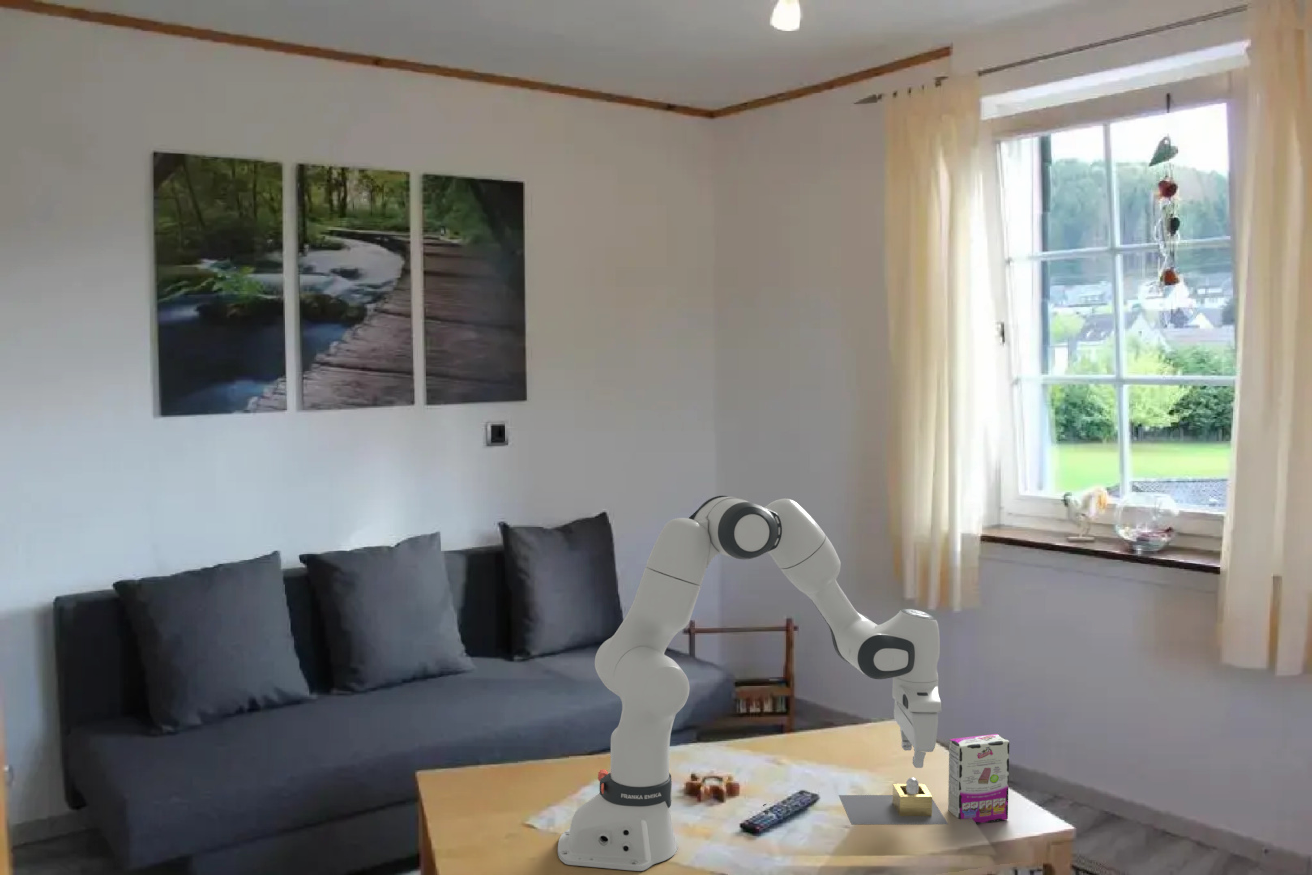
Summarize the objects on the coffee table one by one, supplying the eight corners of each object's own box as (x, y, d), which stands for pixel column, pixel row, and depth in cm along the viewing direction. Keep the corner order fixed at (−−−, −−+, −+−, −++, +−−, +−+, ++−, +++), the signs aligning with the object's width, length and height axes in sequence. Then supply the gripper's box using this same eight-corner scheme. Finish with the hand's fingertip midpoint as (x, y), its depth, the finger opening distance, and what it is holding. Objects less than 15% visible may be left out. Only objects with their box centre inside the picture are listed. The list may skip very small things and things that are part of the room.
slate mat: (851, 831, 225) (851, 824, 225) (838, 801, 239) (838, 795, 239) (948, 831, 225) (948, 823, 225) (929, 801, 239) (929, 794, 239)
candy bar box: (994, 810, 235) (997, 732, 234) (1008, 820, 231) (1011, 741, 229) (945, 816, 232) (948, 737, 231) (958, 826, 228) (961, 746, 226)
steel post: (907, 811, 231) (908, 780, 230) (904, 806, 233) (905, 775, 233) (919, 811, 231) (920, 780, 230) (916, 806, 233) (917, 775, 233)
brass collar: (899, 815, 229) (900, 796, 228) (892, 802, 235) (893, 783, 235) (931, 815, 229) (932, 796, 228) (923, 802, 235) (924, 783, 235)
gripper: (887, 674, 240) (885, 739, 241) (911, 706, 219) (908, 776, 221) (918, 675, 240) (915, 739, 241) (944, 707, 220) (940, 777, 221)
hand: (912, 757), depth 231 cm, fingers open, 8 cm apart
